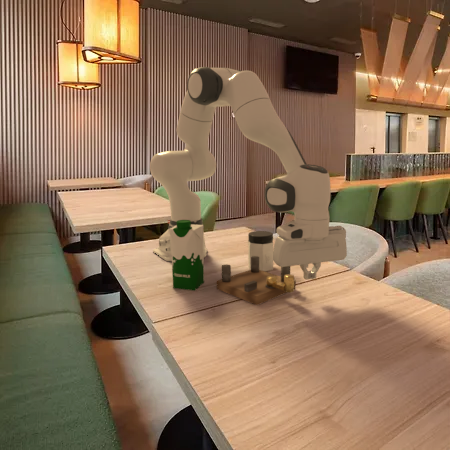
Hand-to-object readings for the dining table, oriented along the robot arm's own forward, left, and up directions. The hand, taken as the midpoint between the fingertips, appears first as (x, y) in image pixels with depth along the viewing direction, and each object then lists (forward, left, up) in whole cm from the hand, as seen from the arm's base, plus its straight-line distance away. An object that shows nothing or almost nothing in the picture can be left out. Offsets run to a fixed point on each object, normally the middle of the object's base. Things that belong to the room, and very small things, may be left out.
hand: (309, 278), depth 103 cm
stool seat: (-15, -6, -6) cm, 17 cm away
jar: (-27, +9, -6) cm, 29 cm away
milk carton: (-31, -18, -6) cm, 36 cm away
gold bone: (-6, -6, -3) cm, 8 cm away
